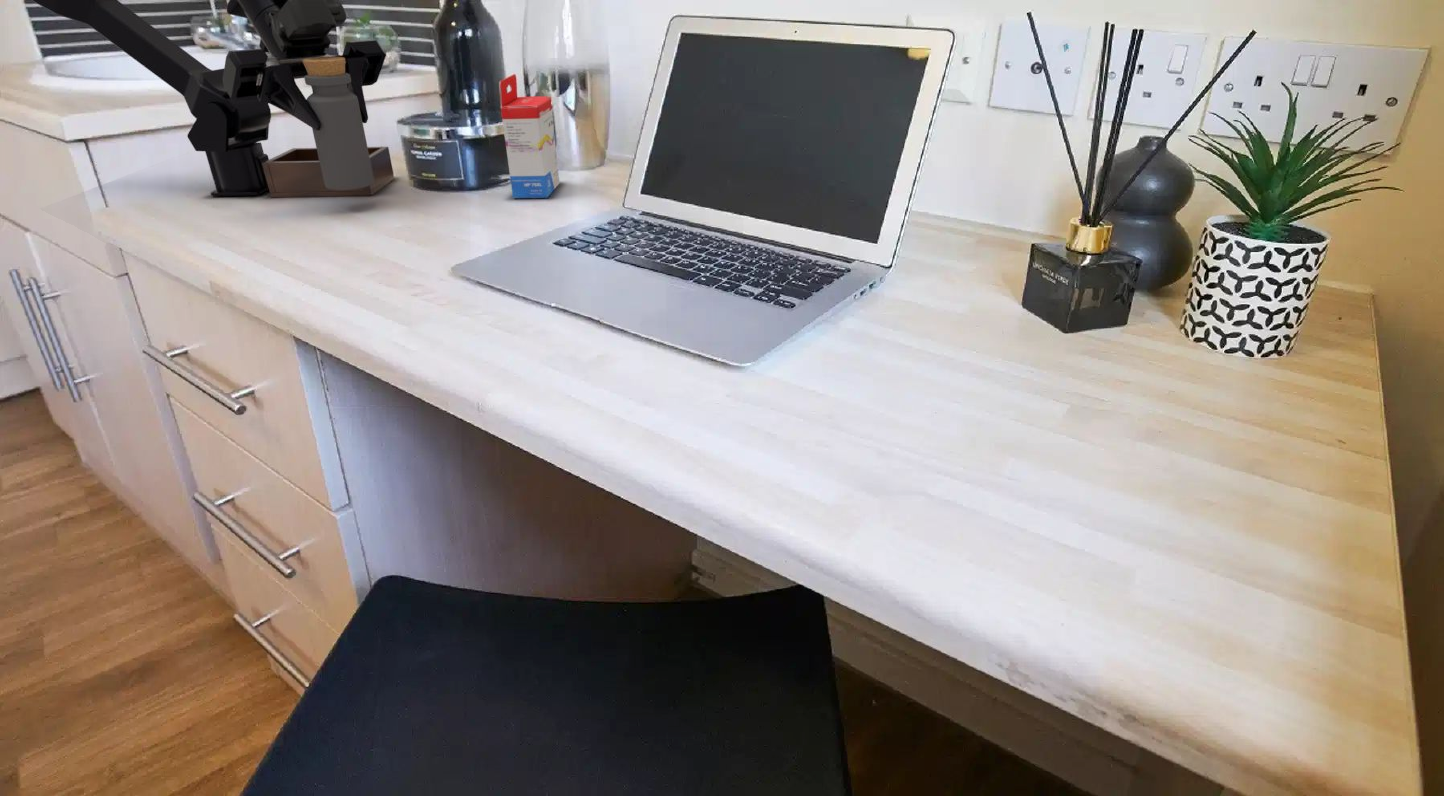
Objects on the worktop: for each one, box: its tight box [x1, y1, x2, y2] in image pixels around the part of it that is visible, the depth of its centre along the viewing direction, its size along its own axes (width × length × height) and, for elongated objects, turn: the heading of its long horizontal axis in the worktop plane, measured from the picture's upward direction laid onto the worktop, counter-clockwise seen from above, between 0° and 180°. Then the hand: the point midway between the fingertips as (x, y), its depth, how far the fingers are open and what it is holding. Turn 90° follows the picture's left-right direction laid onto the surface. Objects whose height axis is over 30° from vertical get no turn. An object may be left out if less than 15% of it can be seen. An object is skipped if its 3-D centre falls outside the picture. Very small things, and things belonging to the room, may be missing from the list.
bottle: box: [302, 57, 374, 190], centre depth 104 cm, size 6×6×15 cm
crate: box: [262, 146, 395, 198], centre depth 117 cm, size 14×10×5 cm
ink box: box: [498, 73, 560, 199], centre depth 112 cm, size 8×5×15 cm, turn 179°
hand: (342, 124), depth 103 cm, fingers closed on bottle, 6 cm apart
